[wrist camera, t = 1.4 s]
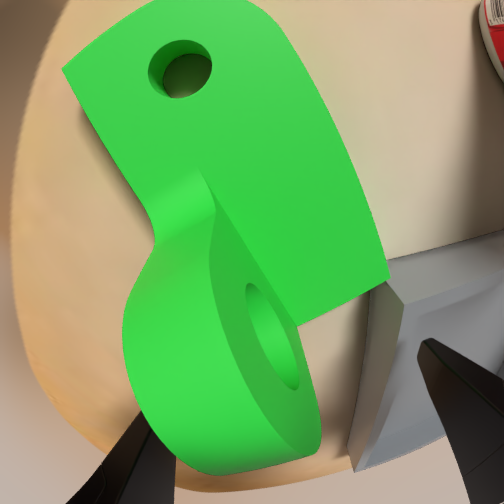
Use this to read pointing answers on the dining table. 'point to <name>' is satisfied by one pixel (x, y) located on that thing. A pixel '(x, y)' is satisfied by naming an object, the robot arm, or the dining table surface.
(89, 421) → the dining table surface
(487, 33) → the soda can
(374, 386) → the tray
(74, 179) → the dining table surface
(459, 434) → the robot arm
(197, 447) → the mechanical part
